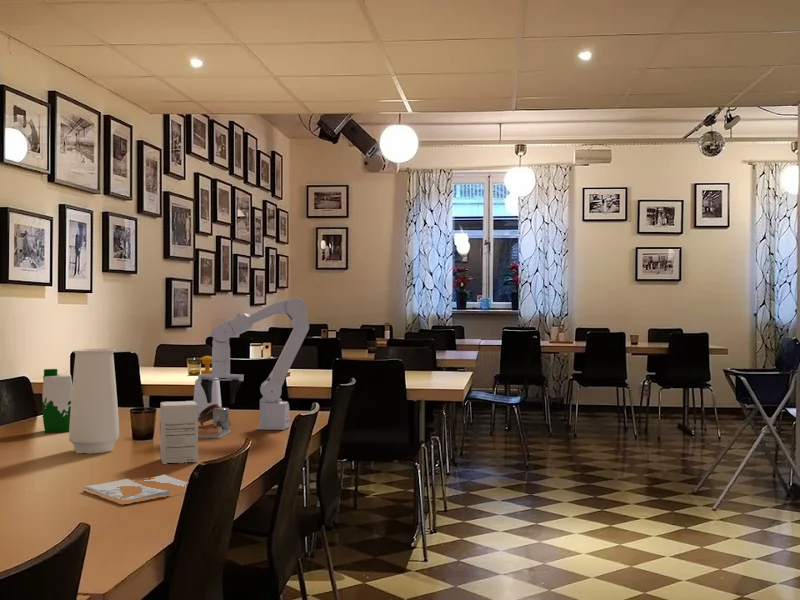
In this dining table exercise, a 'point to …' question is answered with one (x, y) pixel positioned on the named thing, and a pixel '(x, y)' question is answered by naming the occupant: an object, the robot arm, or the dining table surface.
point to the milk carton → (56, 401)
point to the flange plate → (211, 431)
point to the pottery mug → (208, 414)
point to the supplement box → (178, 432)
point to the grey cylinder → (221, 417)
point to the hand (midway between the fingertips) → (220, 403)
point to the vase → (94, 402)
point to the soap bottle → (199, 392)
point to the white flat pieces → (114, 492)
